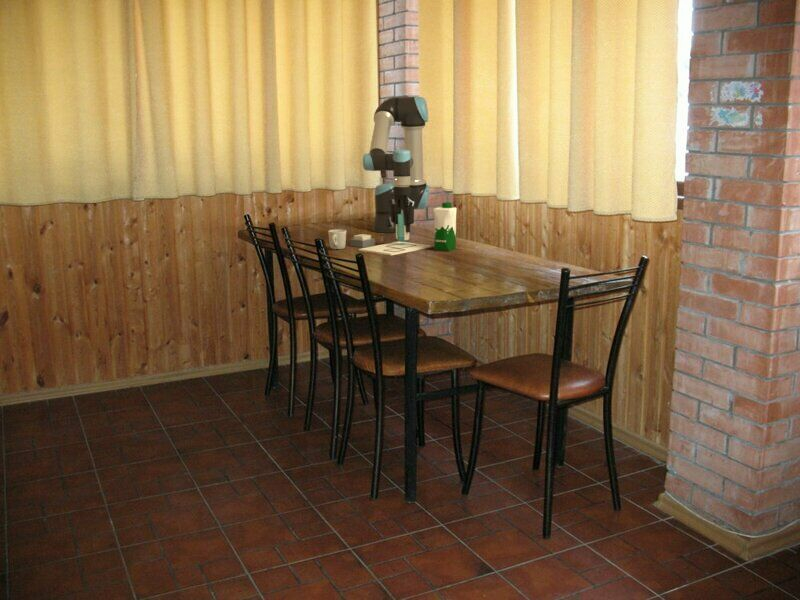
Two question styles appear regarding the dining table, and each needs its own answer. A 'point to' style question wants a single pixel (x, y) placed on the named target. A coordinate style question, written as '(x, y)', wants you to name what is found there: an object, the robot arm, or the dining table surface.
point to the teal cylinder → (401, 227)
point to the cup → (337, 238)
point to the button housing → (362, 242)
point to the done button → (362, 237)
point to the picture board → (395, 248)
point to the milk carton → (445, 227)
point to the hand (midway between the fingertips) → (402, 239)
